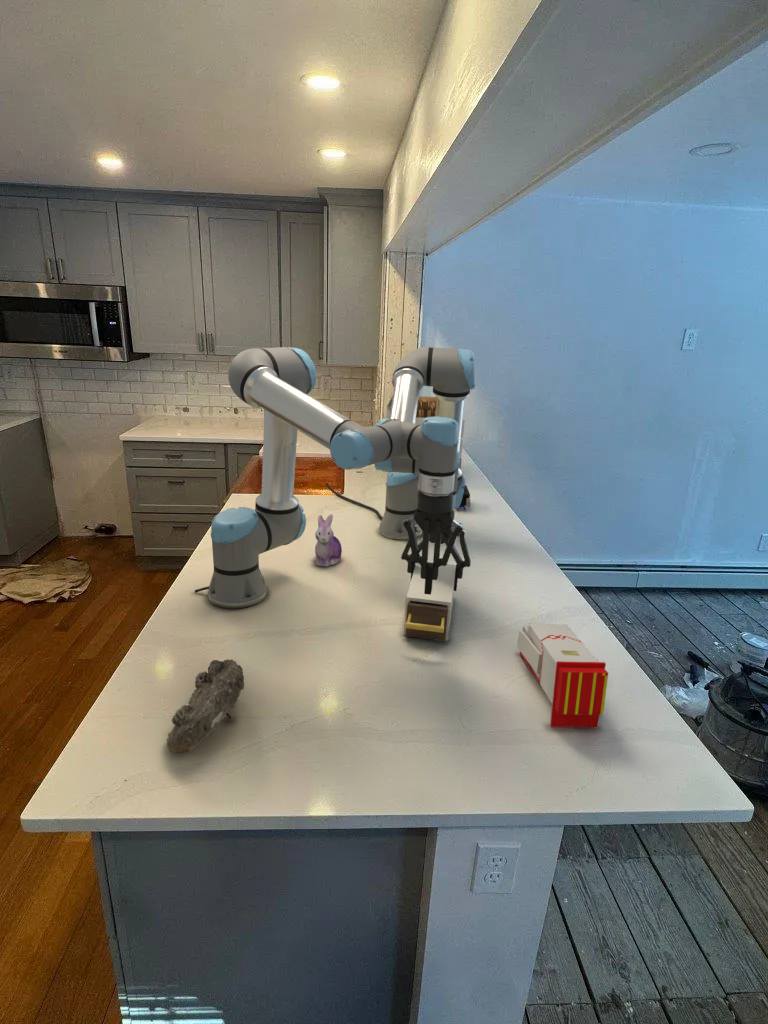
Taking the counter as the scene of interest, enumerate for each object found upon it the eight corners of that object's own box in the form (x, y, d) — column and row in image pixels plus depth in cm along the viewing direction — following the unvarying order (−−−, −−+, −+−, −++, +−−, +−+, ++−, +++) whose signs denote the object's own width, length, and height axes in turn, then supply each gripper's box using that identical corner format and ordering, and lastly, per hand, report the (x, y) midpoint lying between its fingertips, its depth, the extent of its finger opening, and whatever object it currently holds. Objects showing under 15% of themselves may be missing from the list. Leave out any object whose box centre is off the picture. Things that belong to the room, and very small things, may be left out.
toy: (562, 608, 134) (617, 669, 105) (557, 660, 137) (609, 734, 107) (511, 607, 134) (552, 667, 104) (507, 659, 136) (545, 733, 107)
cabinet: (447, 640, 137) (451, 602, 133) (403, 634, 138) (406, 596, 135) (453, 599, 156) (456, 564, 153) (414, 594, 158) (416, 560, 154)
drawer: (443, 655, 129) (446, 622, 126) (401, 649, 131) (403, 616, 128) (450, 601, 153) (453, 572, 150) (415, 597, 155) (417, 568, 152)
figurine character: (470, 515, 225) (465, 499, 238) (472, 498, 221) (467, 483, 235) (453, 515, 224) (449, 499, 238) (455, 497, 221) (451, 482, 234)
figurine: (319, 569, 170) (319, 523, 165) (307, 556, 178) (307, 511, 173) (348, 564, 174) (349, 519, 169) (335, 552, 182) (336, 508, 177)
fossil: (192, 660, 117) (244, 628, 112) (224, 691, 120) (276, 661, 115) (142, 746, 98) (202, 712, 93) (182, 779, 101) (242, 748, 96)
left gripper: (402, 494, 117) (397, 595, 125) (465, 499, 115) (456, 602, 123) (407, 484, 124) (401, 580, 132) (467, 489, 122) (458, 587, 130)
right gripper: (392, 508, 142) (388, 587, 149) (486, 517, 138) (477, 598, 146) (397, 499, 149) (392, 575, 156) (486, 508, 145) (477, 585, 153)
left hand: (428, 591), depth 128 cm, fingers closed
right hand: (433, 586), depth 151 cm, fingers closed on cabinet, 11 cm apart
